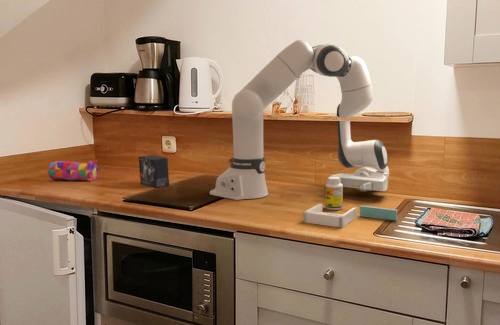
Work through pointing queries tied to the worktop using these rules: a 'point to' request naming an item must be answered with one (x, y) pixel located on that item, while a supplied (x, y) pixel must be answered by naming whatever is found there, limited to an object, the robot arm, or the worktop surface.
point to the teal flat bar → (378, 212)
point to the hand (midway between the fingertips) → (349, 185)
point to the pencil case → (73, 170)
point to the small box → (154, 171)
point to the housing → (328, 217)
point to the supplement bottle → (333, 194)
